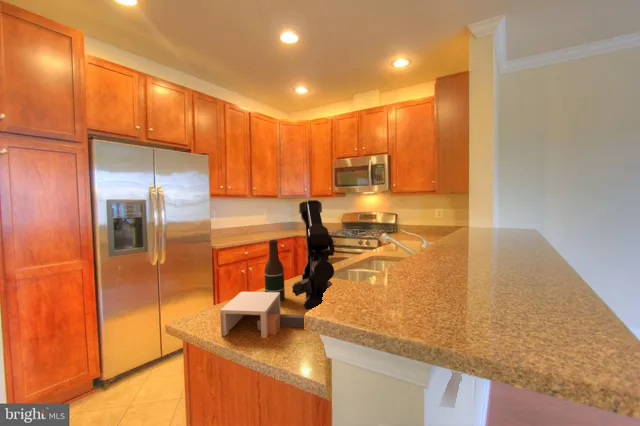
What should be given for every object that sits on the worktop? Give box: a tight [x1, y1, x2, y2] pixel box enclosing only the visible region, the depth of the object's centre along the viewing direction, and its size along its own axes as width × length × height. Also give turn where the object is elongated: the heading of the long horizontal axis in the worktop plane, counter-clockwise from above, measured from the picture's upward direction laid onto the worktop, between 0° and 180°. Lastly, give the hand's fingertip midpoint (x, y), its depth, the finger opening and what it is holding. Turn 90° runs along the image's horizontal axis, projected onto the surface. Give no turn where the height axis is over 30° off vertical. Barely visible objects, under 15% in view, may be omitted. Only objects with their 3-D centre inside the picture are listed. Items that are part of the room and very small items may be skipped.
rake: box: [257, 313, 305, 331], centre depth 90 cm, size 6×19×3 cm, turn 81°
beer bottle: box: [264, 239, 286, 303], centre depth 114 cm, size 8×8×24 cm
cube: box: [267, 313, 281, 335], centre depth 89 cm, size 4×4×4 cm
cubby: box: [219, 291, 282, 339], centre depth 93 cm, size 16×14×8 cm
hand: (320, 320), depth 91 cm, fingers closed
